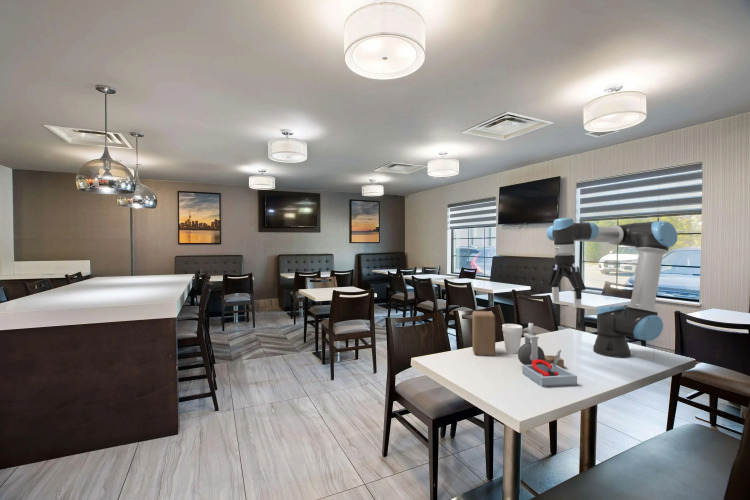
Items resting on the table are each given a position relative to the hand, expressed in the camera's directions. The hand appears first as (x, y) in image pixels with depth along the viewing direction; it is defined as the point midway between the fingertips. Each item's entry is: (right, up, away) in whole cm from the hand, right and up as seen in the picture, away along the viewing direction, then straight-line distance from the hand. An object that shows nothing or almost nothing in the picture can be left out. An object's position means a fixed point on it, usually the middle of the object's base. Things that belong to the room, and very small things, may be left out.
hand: (566, 304), depth 147 cm
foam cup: (-13, -28, +25) cm, 40 cm away
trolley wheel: (-14, -28, +3) cm, 31 cm away
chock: (-4, -28, +4) cm, 29 cm away
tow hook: (-13, -25, -7) cm, 30 cm away
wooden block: (-28, -28, +24) cm, 46 cm away
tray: (-13, -28, -11) cm, 33 cm away
